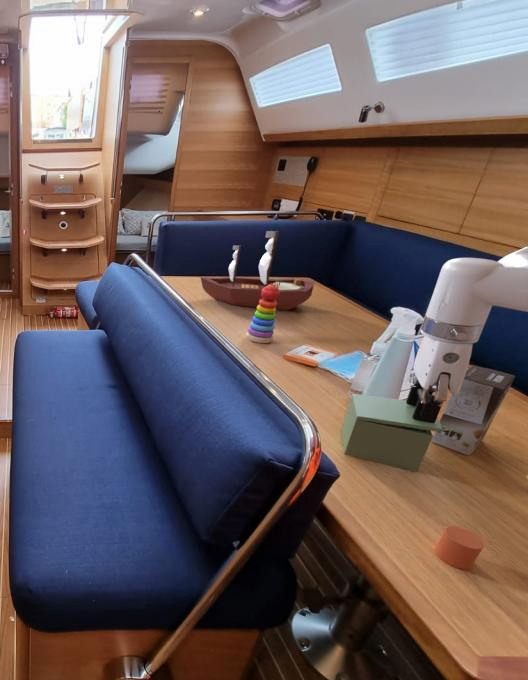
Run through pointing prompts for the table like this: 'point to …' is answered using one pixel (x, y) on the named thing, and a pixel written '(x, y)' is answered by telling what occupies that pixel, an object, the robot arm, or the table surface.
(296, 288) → the sailing ship
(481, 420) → the coffee box
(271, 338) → the stacking toy
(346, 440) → the green hollow box
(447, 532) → the cylinder
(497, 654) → the table surface
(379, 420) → the green box lid
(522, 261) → the robot arm
